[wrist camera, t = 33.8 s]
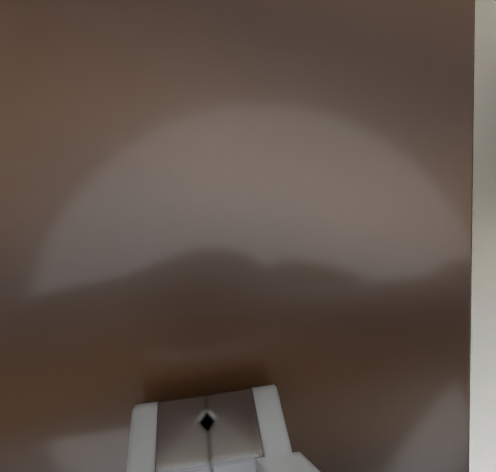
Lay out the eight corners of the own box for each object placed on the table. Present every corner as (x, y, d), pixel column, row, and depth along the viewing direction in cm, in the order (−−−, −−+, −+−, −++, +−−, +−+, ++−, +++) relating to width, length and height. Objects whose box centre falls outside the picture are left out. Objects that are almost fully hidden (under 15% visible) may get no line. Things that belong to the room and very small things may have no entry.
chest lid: (452, 507, 13) (468, 532, 12) (-15, 588, 12) (-30, 620, 11) (454, -67, 10) (477, -85, 9) (-180, -29, 8) (-218, -45, 8)
